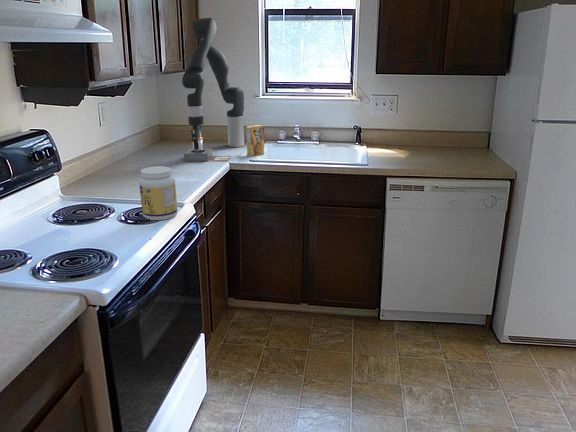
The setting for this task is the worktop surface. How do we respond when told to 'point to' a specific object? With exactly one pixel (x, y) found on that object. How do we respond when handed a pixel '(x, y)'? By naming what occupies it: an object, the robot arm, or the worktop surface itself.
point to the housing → (198, 155)
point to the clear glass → (199, 145)
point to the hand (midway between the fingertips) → (197, 148)
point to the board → (215, 159)
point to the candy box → (255, 140)
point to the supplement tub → (158, 193)
